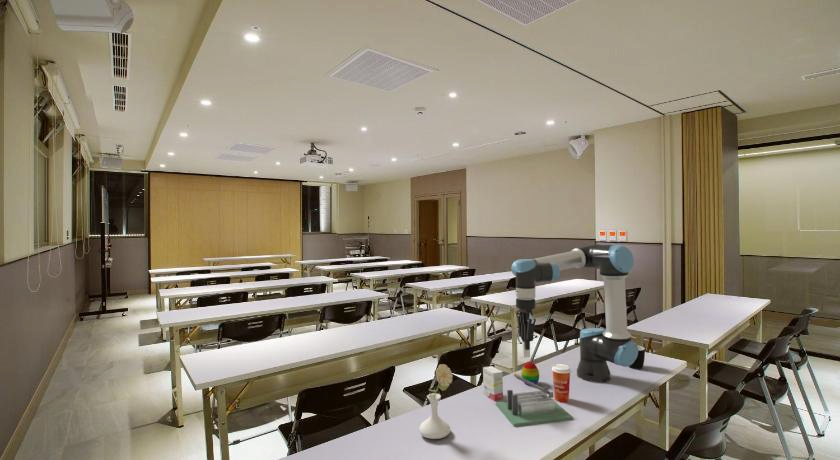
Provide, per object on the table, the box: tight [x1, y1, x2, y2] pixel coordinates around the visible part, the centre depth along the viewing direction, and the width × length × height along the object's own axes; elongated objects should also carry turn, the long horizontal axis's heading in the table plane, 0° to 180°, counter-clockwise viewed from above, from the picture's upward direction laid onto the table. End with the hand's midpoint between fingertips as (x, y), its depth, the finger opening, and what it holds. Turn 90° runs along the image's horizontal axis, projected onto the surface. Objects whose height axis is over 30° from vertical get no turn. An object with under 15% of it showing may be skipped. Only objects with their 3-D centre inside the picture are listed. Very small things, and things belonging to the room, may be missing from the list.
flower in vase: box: [418, 363, 454, 440], centre depth 144 cm, size 13×11×25 cm
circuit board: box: [495, 400, 573, 427], centre depth 159 cm, size 24×18×1 cm
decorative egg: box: [520, 361, 540, 386], centre depth 186 cm, size 8×8×10 cm
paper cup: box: [551, 363, 572, 403], centre depth 169 cm, size 8×8×14 cm
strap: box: [513, 372, 550, 396], centre depth 159 cm, size 17×3×1 cm, turn 101°
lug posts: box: [506, 389, 518, 415], centre depth 157 cm, size 2×5×8 cm, turn 11°
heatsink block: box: [513, 387, 555, 417], centre depth 159 cm, size 15×10×7 cm
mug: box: [627, 344, 646, 370], centre depth 204 cm, size 12×9×10 cm
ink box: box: [482, 365, 504, 402], centre depth 173 cm, size 9×5×12 cm, turn 24°
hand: (526, 356), depth 159 cm, fingers closed
